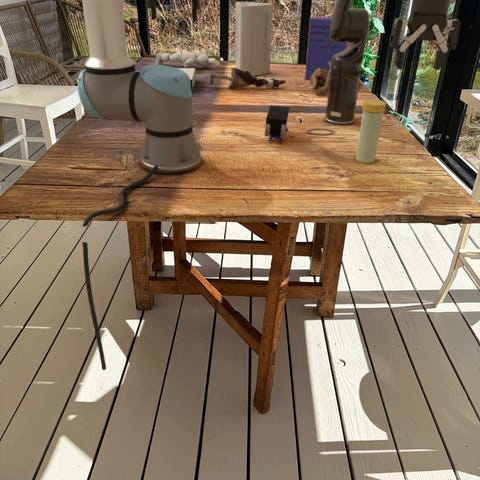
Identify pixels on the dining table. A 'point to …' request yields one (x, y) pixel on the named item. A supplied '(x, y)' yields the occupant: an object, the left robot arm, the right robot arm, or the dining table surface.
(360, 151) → the jar
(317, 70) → the anatomical model
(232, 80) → the figurine
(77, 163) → the dining table surface
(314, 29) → the cereal box
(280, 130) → the figurine character
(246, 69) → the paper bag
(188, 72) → the disc drive
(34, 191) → the dining table surface
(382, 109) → the lid
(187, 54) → the toy
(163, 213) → the dining table surface
